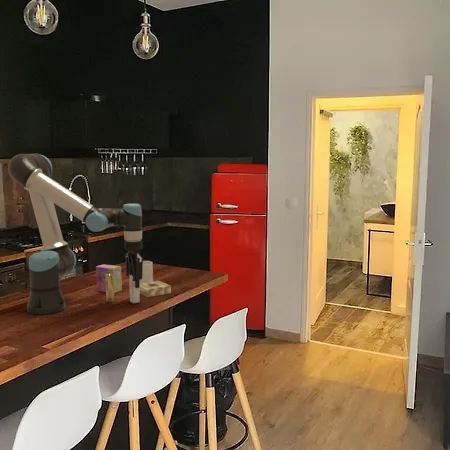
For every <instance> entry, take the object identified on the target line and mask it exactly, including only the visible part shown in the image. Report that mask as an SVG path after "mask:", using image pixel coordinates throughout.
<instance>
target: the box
mask: <svg viewBox="0 0 450 450" xmlns="http://www.w3.org/2000/svg"><path fill="white" fill-rule="evenodd" d="M95 274H96V275H95V276H96V288H97V292H101V293H102V292H104V293H106V274H113V284H114V294H117V293H119V292H122V291H123V285H122V284H123V283H122V282H123V281H122V266H121V265H113V264H101V265H97V266H95Z"/></svg>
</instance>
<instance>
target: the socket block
mask: <svg viewBox="0 0 450 450" xmlns="http://www.w3.org/2000/svg"><path fill="white" fill-rule="evenodd" d="M167 294H172V285H170V284H167V283H165V282H162V281H160V280H153V282H147V283H141V284H140V295H141V296H144V297H145V298H151V297H157V296H163V295H167Z"/></svg>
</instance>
